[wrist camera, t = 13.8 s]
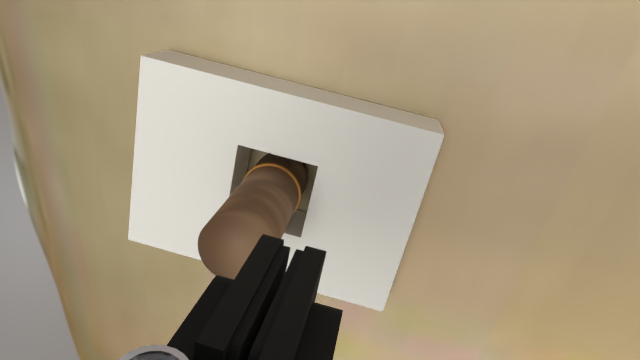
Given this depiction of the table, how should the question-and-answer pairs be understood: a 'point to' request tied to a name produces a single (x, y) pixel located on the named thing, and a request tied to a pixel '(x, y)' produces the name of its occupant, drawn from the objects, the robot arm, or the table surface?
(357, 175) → the board
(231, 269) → the peg
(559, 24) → the table surface
